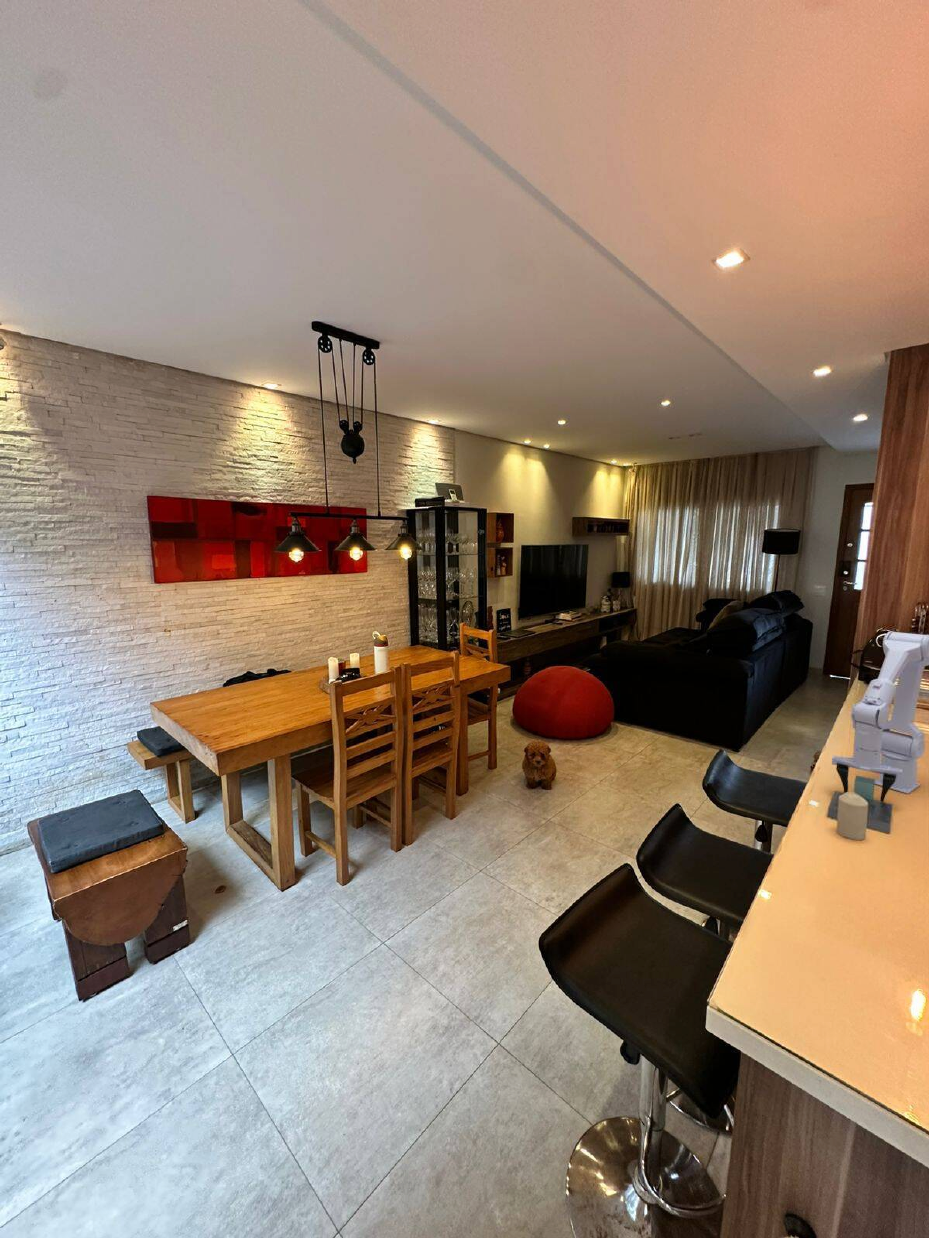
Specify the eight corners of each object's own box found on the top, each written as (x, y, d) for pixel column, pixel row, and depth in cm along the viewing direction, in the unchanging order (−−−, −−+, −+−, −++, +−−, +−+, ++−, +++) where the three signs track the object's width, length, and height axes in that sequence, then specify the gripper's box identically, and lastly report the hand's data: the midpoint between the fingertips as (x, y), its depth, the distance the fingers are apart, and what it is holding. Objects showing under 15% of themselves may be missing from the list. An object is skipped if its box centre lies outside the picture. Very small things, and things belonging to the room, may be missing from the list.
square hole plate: (833, 799, 136) (834, 790, 136) (891, 813, 128) (892, 804, 128) (827, 817, 127) (828, 807, 127) (889, 833, 119) (890, 823, 119)
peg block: (854, 796, 138) (856, 775, 137) (873, 800, 135) (874, 779, 134) (853, 801, 135) (854, 780, 134) (872, 806, 132) (873, 784, 131)
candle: (870, 841, 116) (873, 800, 115) (844, 839, 117) (846, 799, 116) (857, 828, 122) (860, 789, 120) (831, 827, 123) (834, 788, 122)
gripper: (831, 745, 135) (828, 793, 137) (902, 759, 125) (898, 810, 127) (835, 738, 140) (832, 784, 142) (903, 750, 130) (899, 799, 132)
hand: (863, 795), depth 135 cm, fingers open, 7 cm apart
